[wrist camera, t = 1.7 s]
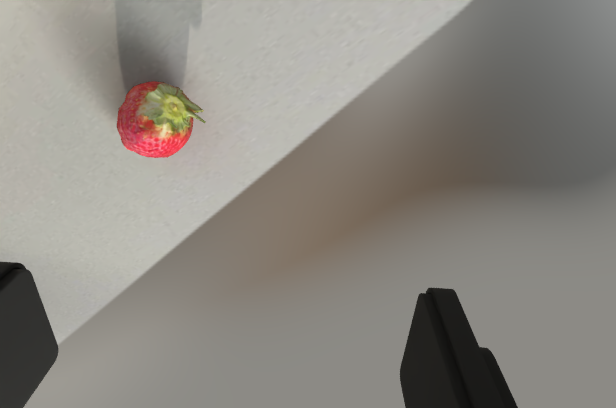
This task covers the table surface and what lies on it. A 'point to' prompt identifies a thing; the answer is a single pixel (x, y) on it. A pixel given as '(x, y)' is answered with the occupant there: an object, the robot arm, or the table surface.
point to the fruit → (156, 119)
